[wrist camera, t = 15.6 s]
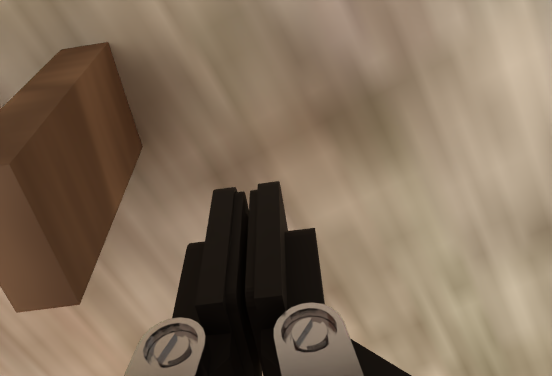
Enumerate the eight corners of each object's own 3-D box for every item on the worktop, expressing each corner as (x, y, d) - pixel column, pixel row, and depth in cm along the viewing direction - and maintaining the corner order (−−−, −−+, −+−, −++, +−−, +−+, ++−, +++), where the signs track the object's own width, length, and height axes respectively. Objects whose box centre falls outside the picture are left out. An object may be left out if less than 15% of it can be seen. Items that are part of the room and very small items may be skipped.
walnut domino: (100, 153, 24) (16, 312, 16) (61, 49, 21) (-68, 175, 13) (142, 147, 24) (79, 304, 16) (108, 42, 21) (9, 164, 13)
